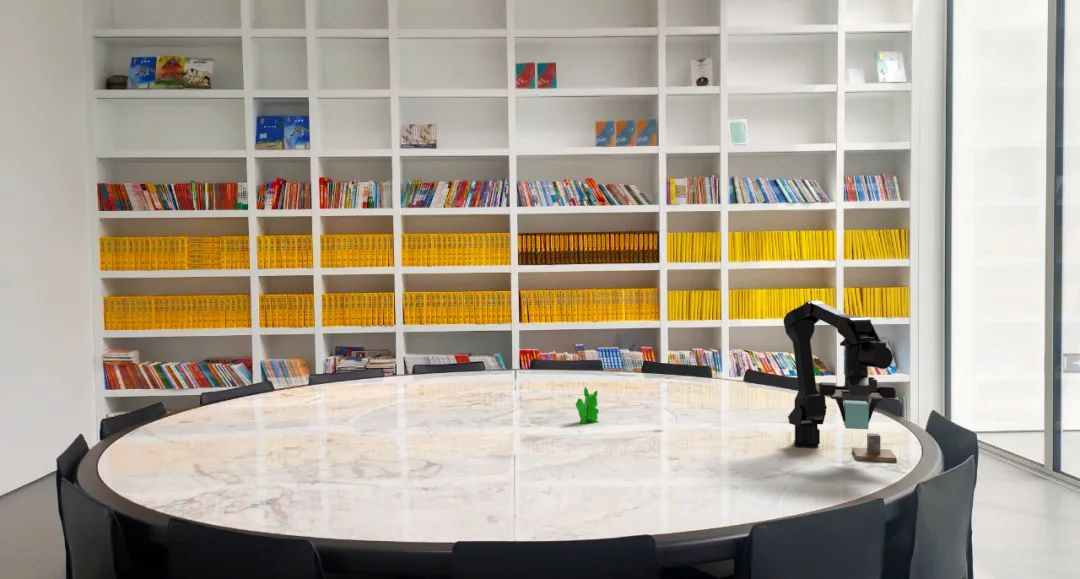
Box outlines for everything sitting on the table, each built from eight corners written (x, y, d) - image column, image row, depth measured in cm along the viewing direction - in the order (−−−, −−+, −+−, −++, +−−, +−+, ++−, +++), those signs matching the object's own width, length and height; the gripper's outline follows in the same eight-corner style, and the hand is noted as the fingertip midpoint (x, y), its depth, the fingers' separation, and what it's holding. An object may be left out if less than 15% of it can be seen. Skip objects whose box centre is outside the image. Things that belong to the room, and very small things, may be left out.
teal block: (845, 428, 206) (845, 404, 206) (843, 424, 211) (843, 400, 211) (868, 429, 204) (868, 405, 204) (865, 425, 210) (866, 401, 209)
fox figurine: (603, 422, 265) (603, 387, 265) (584, 426, 259) (584, 390, 258) (590, 419, 270) (590, 385, 269) (571, 423, 263) (571, 388, 263)
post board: (856, 460, 210) (856, 437, 210) (852, 451, 220) (852, 430, 219) (896, 462, 207) (896, 439, 207) (890, 453, 217) (890, 431, 217)
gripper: (821, 367, 202) (820, 426, 203) (899, 369, 197) (898, 430, 197) (818, 361, 213) (818, 418, 213) (892, 363, 207) (892, 421, 208)
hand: (855, 422), depth 208 cm, fingers closed on teal block, 6 cm apart
